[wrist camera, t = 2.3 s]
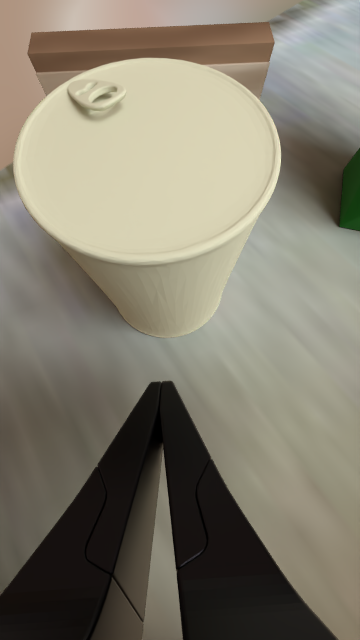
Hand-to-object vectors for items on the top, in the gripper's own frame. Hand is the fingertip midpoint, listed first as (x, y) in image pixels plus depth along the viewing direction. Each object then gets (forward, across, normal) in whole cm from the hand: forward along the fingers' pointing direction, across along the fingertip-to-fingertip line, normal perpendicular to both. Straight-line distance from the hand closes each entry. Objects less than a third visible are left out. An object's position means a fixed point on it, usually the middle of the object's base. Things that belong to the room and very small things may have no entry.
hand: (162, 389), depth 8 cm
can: (+12, 0, 0) cm, 12 cm away
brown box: (+23, 0, -12) cm, 26 cm away
